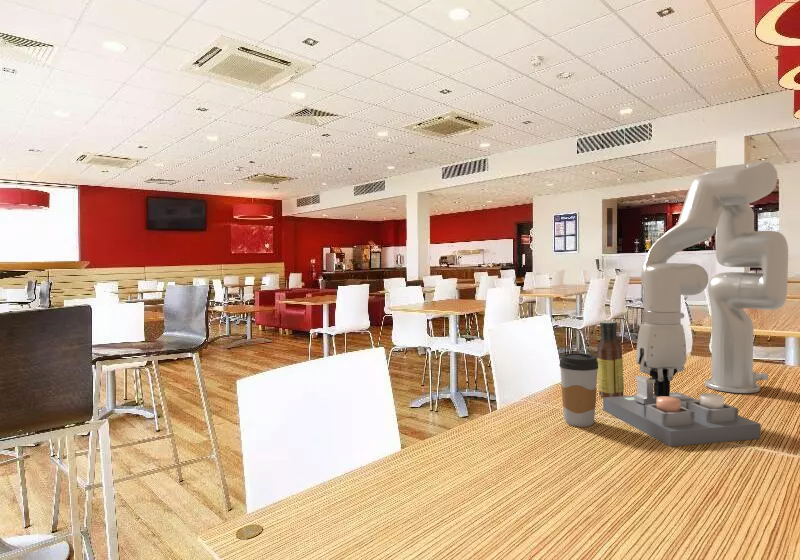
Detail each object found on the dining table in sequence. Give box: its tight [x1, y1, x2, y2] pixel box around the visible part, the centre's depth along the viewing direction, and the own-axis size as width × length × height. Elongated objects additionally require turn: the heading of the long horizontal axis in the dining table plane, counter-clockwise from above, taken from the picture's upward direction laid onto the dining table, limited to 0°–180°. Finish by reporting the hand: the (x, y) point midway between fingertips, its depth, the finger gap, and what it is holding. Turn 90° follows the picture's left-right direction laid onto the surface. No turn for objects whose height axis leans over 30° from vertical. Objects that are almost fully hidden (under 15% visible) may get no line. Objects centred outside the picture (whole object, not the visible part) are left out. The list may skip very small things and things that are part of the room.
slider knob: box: [633, 374, 656, 404], centre depth 118 cm, size 3×4×6 cm
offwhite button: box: [698, 392, 725, 409], centre depth 108 cm, size 4×4×2 cm
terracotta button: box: [657, 396, 681, 413], centre depth 106 cm, size 4×4×2 cm
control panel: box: [602, 391, 762, 447], centre depth 113 cm, size 20×24×6 cm
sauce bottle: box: [596, 320, 625, 398], centre depth 134 cm, size 7×6×20 cm
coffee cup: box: [558, 352, 599, 428], centre depth 115 cm, size 8×8×15 cm
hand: (661, 396), depth 119 cm, fingers closed
